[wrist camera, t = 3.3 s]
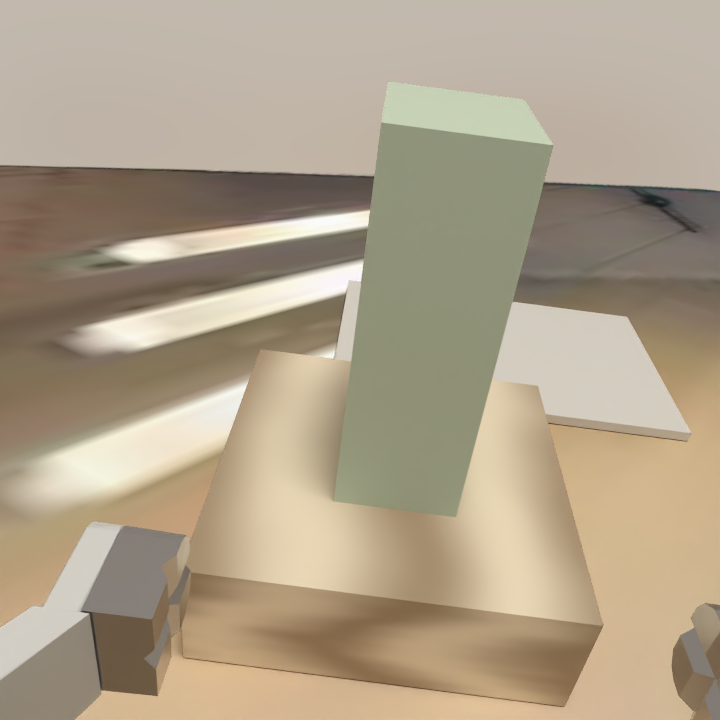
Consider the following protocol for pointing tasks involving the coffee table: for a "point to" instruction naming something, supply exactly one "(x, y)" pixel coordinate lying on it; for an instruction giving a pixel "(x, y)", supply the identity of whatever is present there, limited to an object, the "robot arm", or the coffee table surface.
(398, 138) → the sage green pillar
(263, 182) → the coffee table surface
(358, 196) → the coffee table surface
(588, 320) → the rubber mat
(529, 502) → the plate
